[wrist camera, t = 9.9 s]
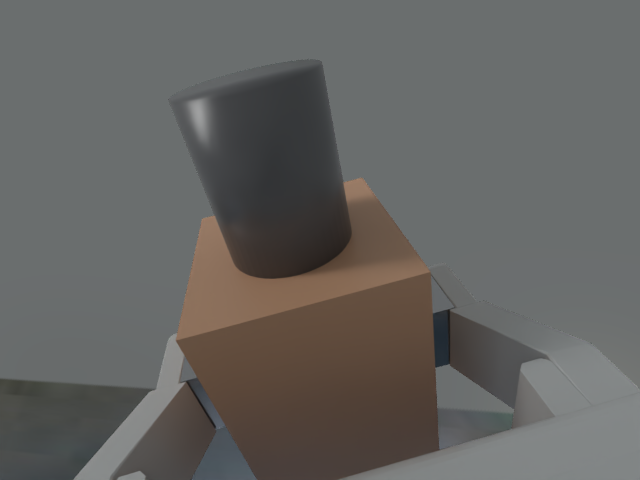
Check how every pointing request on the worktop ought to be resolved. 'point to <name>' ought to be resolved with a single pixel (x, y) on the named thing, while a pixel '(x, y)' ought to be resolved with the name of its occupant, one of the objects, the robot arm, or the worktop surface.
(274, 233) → the terracotta plug
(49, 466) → the worktop surface
